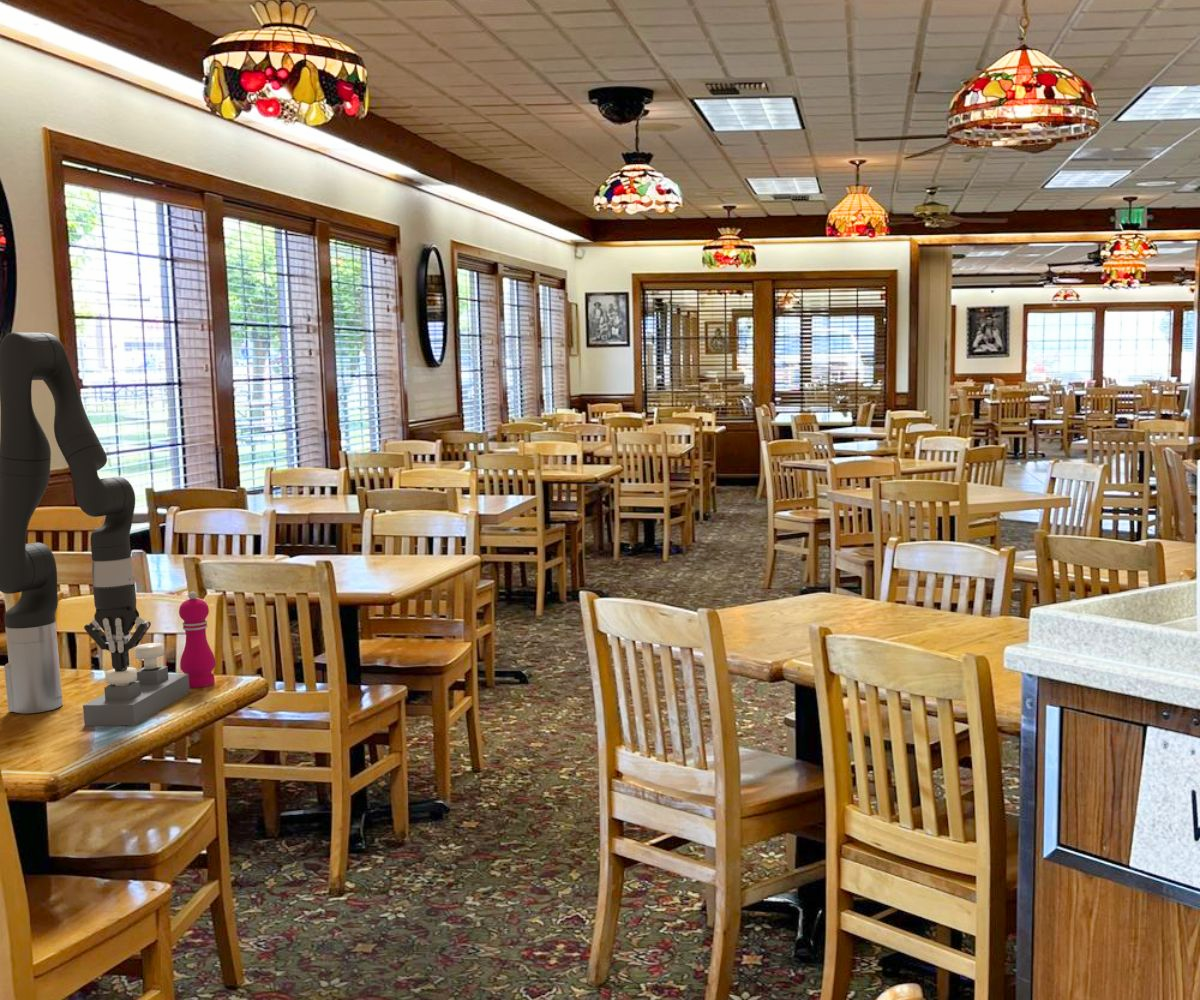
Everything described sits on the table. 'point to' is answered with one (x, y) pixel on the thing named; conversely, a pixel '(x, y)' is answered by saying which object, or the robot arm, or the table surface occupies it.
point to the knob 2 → (149, 653)
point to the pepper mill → (196, 643)
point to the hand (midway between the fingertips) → (121, 670)
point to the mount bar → (136, 698)
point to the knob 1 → (121, 676)
